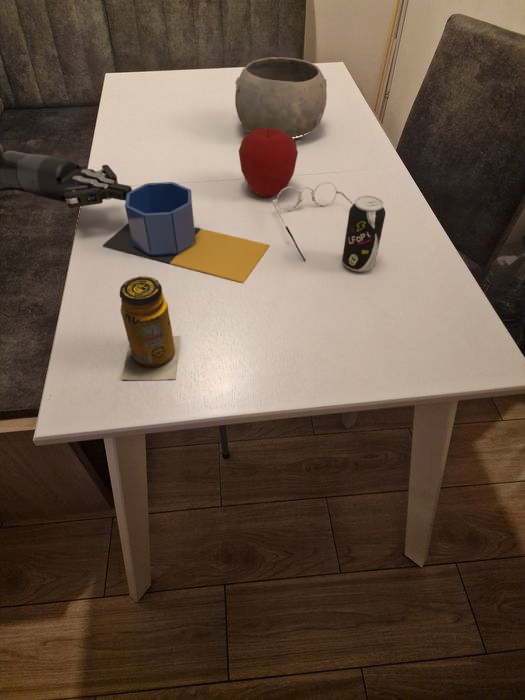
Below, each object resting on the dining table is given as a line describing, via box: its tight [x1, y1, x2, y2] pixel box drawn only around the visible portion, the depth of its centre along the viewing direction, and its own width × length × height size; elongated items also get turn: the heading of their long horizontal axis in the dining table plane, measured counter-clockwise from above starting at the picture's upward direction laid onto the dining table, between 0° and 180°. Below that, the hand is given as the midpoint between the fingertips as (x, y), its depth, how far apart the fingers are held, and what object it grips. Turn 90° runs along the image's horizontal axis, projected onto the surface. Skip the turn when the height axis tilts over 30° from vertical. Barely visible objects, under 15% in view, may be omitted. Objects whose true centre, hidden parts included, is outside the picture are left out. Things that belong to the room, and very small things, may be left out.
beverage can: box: [341, 195, 386, 273], centre depth 81 cm, size 6×6×12 cm
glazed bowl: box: [124, 181, 196, 256], centre depth 86 cm, size 11×11×8 cm
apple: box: [238, 128, 299, 198], centre depth 98 cm, size 12×12×13 cm
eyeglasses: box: [272, 181, 355, 262], centre depth 91 cm, size 16×19×5 cm
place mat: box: [102, 222, 271, 284], centre depth 88 cm, size 28×12×1 cm, turn 68°
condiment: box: [119, 275, 181, 381], centre depth 64 cm, size 7×8×12 cm
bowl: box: [234, 56, 328, 141], centre depth 120 cm, size 23×23×15 cm
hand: (130, 193), depth 85 cm, fingers closed
